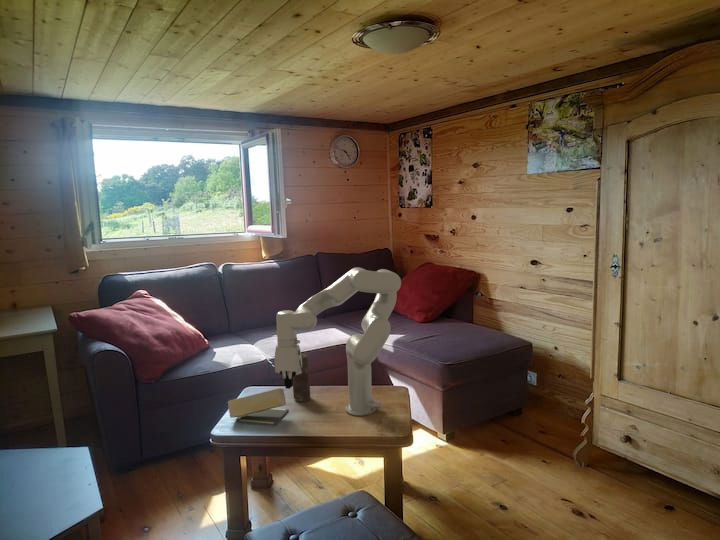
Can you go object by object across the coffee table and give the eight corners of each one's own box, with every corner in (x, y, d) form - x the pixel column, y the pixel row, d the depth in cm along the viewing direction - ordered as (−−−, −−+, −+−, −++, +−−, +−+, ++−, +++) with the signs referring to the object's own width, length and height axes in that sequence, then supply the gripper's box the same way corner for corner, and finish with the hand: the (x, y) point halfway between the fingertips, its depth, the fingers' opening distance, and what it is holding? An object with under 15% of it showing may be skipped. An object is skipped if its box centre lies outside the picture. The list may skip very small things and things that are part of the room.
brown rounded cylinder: (290, 401, 213) (288, 357, 210) (297, 395, 220) (295, 352, 217) (306, 403, 211) (304, 358, 208) (313, 396, 218) (311, 353, 215)
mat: (288, 411, 203) (288, 409, 203) (274, 426, 190) (274, 424, 190) (253, 408, 207) (252, 406, 207) (237, 422, 194) (236, 420, 193)
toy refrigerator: (286, 406, 198) (236, 419, 198) (283, 388, 200) (233, 400, 200) (282, 407, 190) (230, 419, 190) (279, 388, 192) (227, 400, 192)
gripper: (308, 340, 193) (310, 385, 196) (273, 338, 197) (275, 382, 199) (301, 346, 186) (303, 392, 188) (265, 344, 189) (267, 389, 192)
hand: (288, 387), depth 194 cm, fingers closed
